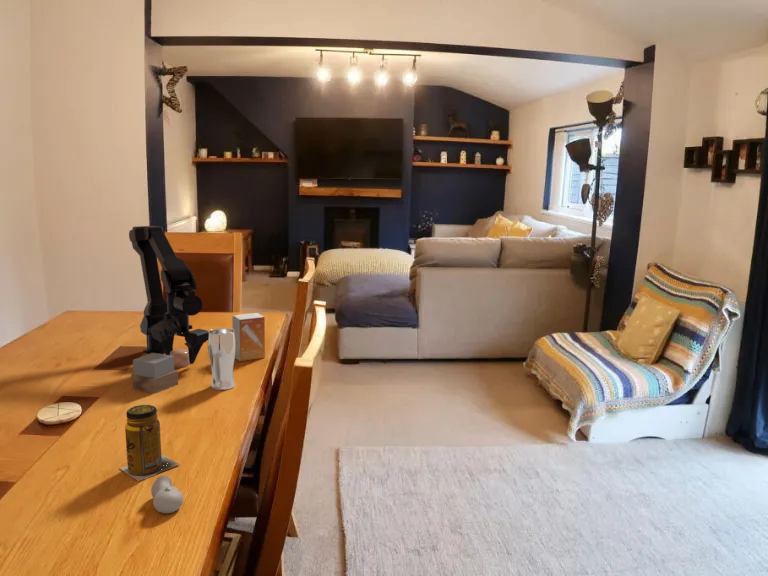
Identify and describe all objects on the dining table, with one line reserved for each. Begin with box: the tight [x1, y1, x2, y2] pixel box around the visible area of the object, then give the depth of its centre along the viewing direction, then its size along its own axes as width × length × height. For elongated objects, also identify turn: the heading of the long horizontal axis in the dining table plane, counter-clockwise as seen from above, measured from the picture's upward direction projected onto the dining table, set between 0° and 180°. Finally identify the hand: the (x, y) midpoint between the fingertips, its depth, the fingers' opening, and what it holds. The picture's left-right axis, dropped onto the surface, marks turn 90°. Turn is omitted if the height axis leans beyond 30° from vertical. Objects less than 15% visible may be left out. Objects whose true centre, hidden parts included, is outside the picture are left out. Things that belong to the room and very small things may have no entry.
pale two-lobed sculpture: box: [150, 474, 185, 515], centre depth 101 cm, size 4×8×5 cm
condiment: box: [118, 404, 180, 482], centre depth 113 cm, size 7×8×12 cm
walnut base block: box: [130, 369, 179, 395], centre depth 156 cm, size 8×8×4 cm
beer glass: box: [207, 327, 236, 391], centre depth 156 cm, size 7×7×15 cm
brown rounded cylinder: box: [170, 348, 191, 369], centre depth 174 cm, size 6×6×4 cm
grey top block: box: [132, 353, 175, 379], centre depth 155 cm, size 7×7×4 cm
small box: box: [231, 312, 266, 362], centre depth 181 cm, size 8×6×13 cm
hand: (180, 361), depth 174 cm, fingers open, 9 cm apart
